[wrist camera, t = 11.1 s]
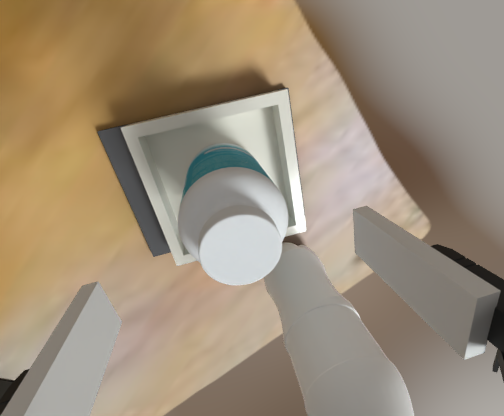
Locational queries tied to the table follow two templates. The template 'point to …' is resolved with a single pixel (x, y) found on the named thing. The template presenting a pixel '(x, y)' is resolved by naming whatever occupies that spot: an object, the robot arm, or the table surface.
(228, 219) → the pill bottle
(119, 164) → the mat
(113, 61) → the table surface
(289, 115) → the tray
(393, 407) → the water bottle
